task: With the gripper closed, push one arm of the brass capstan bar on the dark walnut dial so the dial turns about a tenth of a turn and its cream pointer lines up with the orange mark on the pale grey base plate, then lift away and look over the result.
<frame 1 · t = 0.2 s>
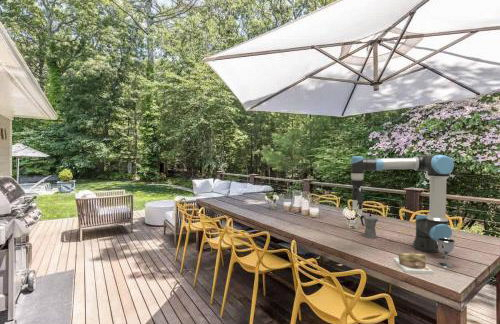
hand: (357, 211, 180), 28 cm above the table, tool pointing down, fingers open, 13 cm apart
wine glass: (445, 265, 160), on the table
coffeepot: (368, 236, 217), on the table
base plate: (412, 266, 159), on the table
capstan dial: (412, 258, 158), point 5 cm above the table, hinge at 0.0°
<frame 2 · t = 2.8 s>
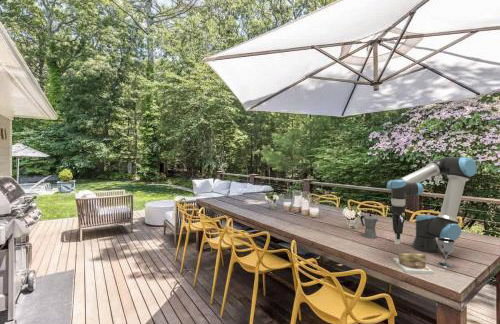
hand: (397, 243, 166), 11 cm above the table, tool pointing down, fingers closed
nothing on the table moved.
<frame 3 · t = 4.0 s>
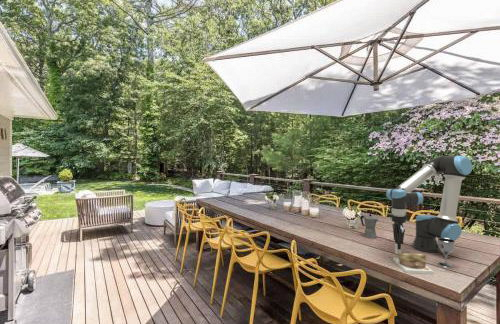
hand: (398, 253, 166), 5 cm above the table, tool pointing down, fingers closed
nothing on the table moved.
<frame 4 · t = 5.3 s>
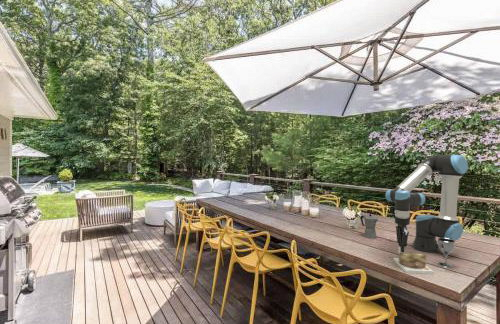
hand: (401, 256, 161), 5 cm above the table, tool pointing down, fingers closed
capstan dial: (412, 258, 158), point 5 cm above the table, hinge at 0.0°, touching gripper
everything else where it was.
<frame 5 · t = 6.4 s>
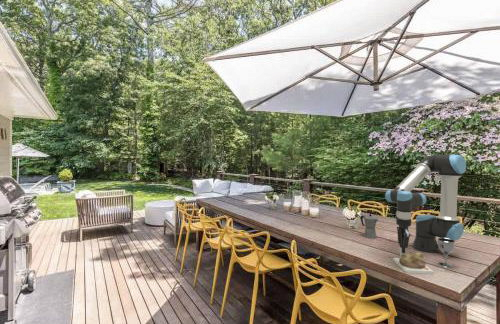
hand: (402, 257, 159), 5 cm above the table, tool pointing down, fingers closed
capstan dial: (412, 258, 158), point 5 cm above the table, hinge at 23.1°, touching gripper
everything else where it was.
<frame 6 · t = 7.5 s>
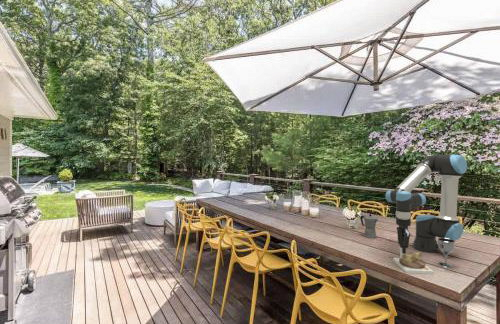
hand: (403, 258, 159), 5 cm above the table, tool pointing down, fingers closed
capstan dial: (412, 258, 158), point 5 cm above the table, hinge at 32.3°
everything else where it was.
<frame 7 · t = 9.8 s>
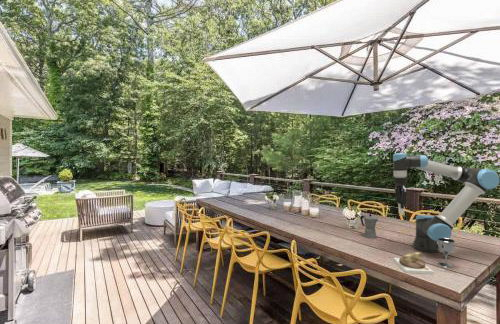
hand: (401, 213, 177), 27 cm above the table, tool pointing down, fingers closed
nothing on the table moved.
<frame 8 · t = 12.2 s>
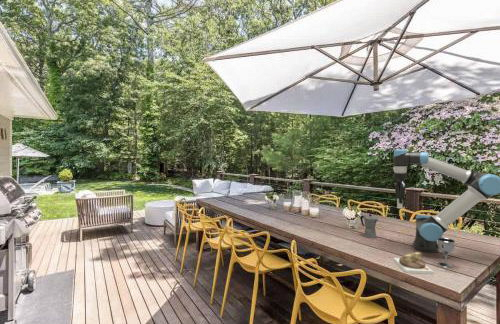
hand: (399, 208, 182), 29 cm above the table, tool pointing down, fingers closed
nothing on the table moved.
at the end: capstan dial at +32° (first picture: +0°) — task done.
